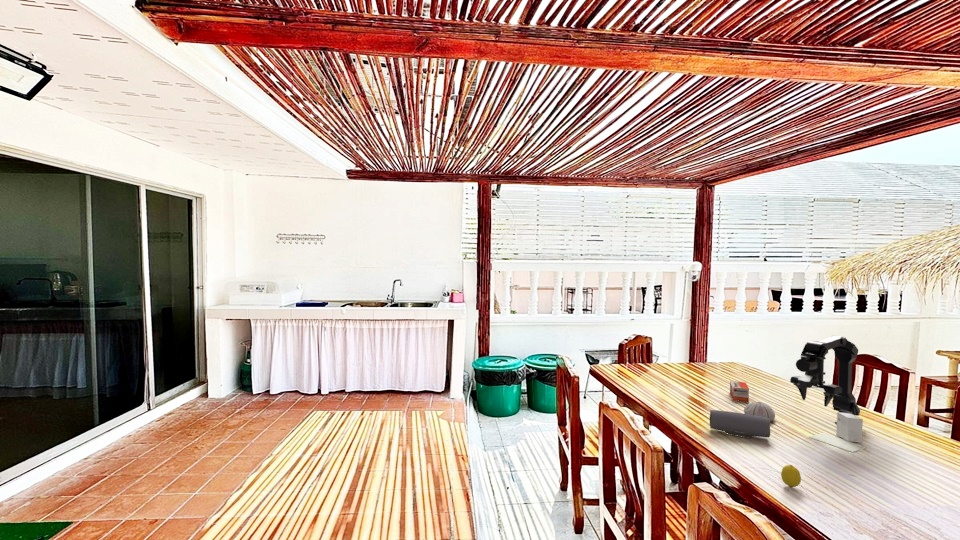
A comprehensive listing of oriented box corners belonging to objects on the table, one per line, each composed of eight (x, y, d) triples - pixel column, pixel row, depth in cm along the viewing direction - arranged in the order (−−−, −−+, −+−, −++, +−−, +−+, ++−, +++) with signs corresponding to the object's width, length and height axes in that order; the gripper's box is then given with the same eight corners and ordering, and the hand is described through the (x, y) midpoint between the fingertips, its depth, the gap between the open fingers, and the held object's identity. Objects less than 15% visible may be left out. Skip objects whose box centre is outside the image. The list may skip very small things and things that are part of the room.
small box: (862, 443, 183) (863, 419, 182) (847, 441, 184) (848, 417, 184) (849, 436, 190) (851, 413, 190) (835, 434, 192) (837, 411, 191)
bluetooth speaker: (766, 435, 190) (766, 413, 190) (770, 443, 181) (771, 421, 181) (709, 426, 200) (709, 406, 199) (710, 434, 191) (711, 412, 191)
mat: (823, 433, 193) (823, 432, 193) (866, 448, 178) (866, 447, 178) (809, 437, 189) (809, 436, 189) (852, 452, 174) (852, 451, 174)
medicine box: (729, 393, 252) (729, 380, 251) (745, 395, 248) (745, 381, 248) (732, 400, 238) (732, 386, 238) (749, 403, 234) (749, 388, 234)
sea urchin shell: (771, 425, 202) (771, 409, 202) (739, 417, 212) (739, 401, 212) (778, 418, 211) (779, 403, 211) (748, 411, 221) (748, 396, 221)
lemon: (776, 483, 149) (777, 461, 149) (791, 483, 149) (792, 460, 149) (789, 492, 143) (790, 469, 143) (804, 491, 144) (805, 468, 144)
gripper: (782, 365, 198) (781, 398, 198) (826, 376, 180) (825, 412, 181) (798, 364, 201) (797, 396, 202) (843, 374, 184) (842, 409, 184)
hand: (814, 403), depth 192 cm, fingers open, 9 cm apart
